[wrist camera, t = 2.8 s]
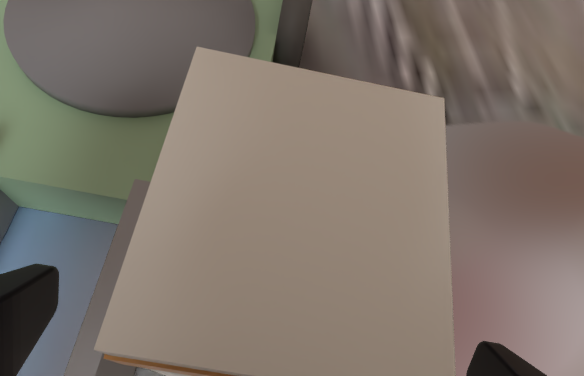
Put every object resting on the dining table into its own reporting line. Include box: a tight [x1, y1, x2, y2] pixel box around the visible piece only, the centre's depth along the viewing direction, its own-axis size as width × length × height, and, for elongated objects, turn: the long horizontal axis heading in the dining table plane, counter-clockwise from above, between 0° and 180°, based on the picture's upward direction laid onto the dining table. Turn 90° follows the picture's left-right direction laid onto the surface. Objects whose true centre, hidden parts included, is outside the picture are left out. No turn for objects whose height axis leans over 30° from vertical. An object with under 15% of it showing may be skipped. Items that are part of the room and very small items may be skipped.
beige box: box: [94, 47, 456, 376], centre depth 12 cm, size 5×5×12 cm
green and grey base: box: [0, 0, 312, 376], centre depth 18 cm, size 22×16×5 cm
